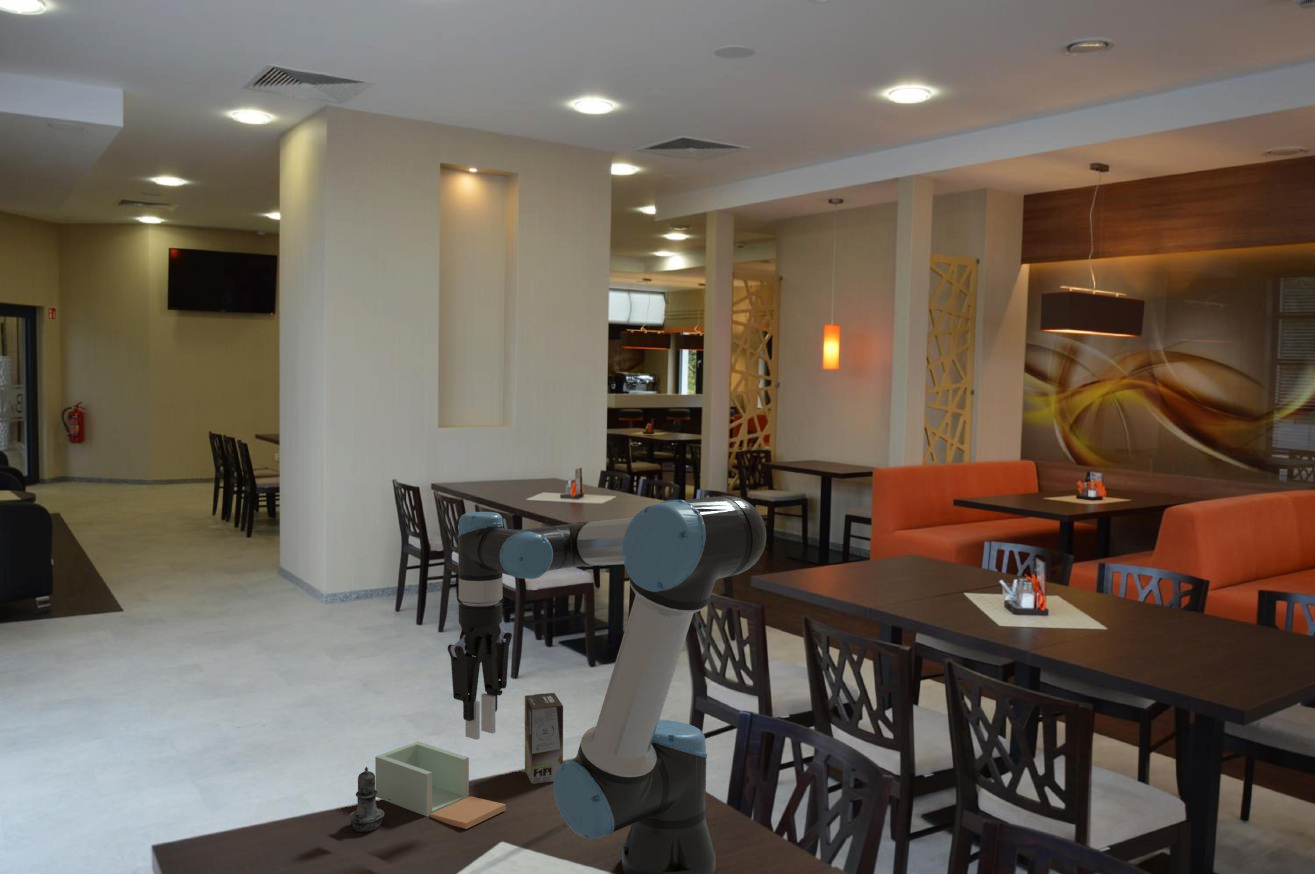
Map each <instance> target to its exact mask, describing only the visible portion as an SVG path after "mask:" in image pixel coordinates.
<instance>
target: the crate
mask: <svg viewBox="0 0 1315 874" xmlns="http://www.w3.org/2000/svg"><path fill="white" fill-rule="evenodd" d="M374 761H375V763H374V764H375V766H374V767H375V770H374V771H375V790H376V791H377V792H378V793H377V795H376V798H378V799H379V800H380V799H381V800H382V801H385V802H388V803H391V804H394V805H396V806H398V807H401V808H404V809H406V810H408V811H411V812H414V813H417V814H420V815H422V816H425V817H429V816H430V814H431V813H434V812H436V811H438V810H440V809H443V808H445V807H447V806H449V805H452V804H454V803H456V802H459V801H461V800H463V799H465V798H468V797H470V793H469V792H470V785H469V784H470V782H469V781H470V780H469V779H470V778H469V777H470V768H469V767H470V764H469V762H470V758H469V756H465V755H462V754H460V753H459V754H458V753H455V752H453V751H450V750H446V749H443V748H441V747H436V746H434V745H430V744H427V743H425V742H421V741H415V742H413V743H410V744H407V745H404V746H401V747H399V748H396V749H394V750H389V751H387V752H385V753H382V754H379V755H376V756H375V760H374ZM388 799H391V800H388Z"/></svg>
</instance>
